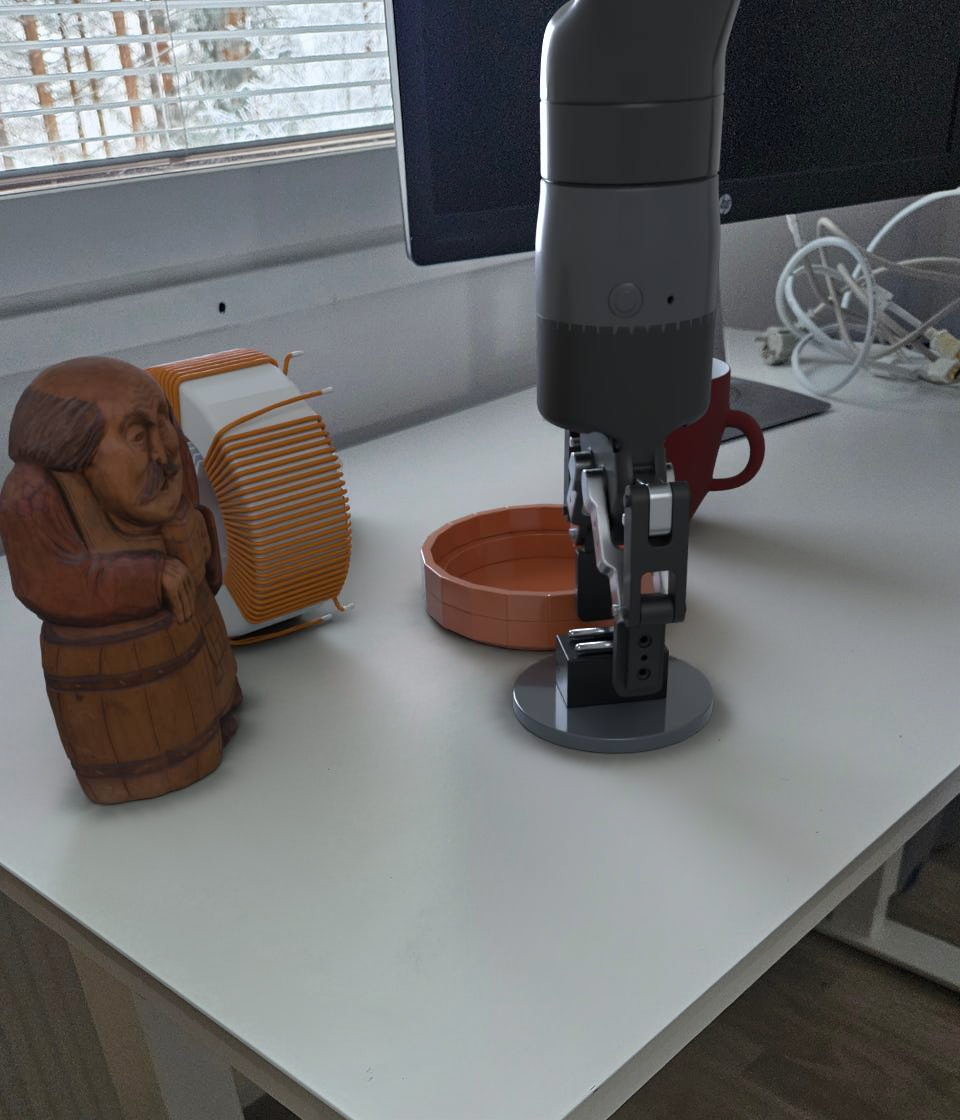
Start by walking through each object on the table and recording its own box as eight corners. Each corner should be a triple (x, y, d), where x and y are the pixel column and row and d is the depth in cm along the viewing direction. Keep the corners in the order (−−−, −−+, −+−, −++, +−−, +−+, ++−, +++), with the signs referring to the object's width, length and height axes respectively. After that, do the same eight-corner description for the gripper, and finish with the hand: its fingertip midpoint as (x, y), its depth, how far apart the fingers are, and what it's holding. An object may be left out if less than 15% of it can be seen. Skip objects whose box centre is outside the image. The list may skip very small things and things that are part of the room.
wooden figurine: (194, 815, 55) (111, 399, 45) (58, 810, 56) (-55, 399, 45) (264, 692, 65) (209, 326, 54) (147, 689, 65) (71, 327, 55)
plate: (681, 651, 67) (682, 638, 66) (738, 742, 59) (740, 727, 58) (498, 669, 66) (498, 655, 65) (531, 763, 58) (531, 748, 57)
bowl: (633, 549, 79) (636, 495, 77) (696, 642, 68) (700, 582, 66) (413, 568, 78) (410, 513, 76) (439, 666, 66) (435, 606, 64)
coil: (274, 683, 65) (233, 393, 57) (140, 601, 75) (88, 342, 66) (379, 643, 69) (355, 365, 60) (238, 570, 78) (201, 321, 70)
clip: (651, 671, 63) (654, 616, 61) (666, 699, 61) (670, 642, 59) (555, 681, 63) (555, 625, 61) (567, 708, 60) (567, 651, 59)
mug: (754, 504, 85) (768, 352, 80) (759, 547, 79) (776, 384, 73) (601, 501, 87) (604, 352, 81) (594, 543, 80) (597, 384, 74)
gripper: (769, 329, 46) (734, 713, 55) (668, 263, 58) (653, 589, 67) (571, 343, 45) (569, 730, 55) (509, 273, 57) (516, 602, 66)
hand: (615, 652), depth 61 cm, fingers open, 8 cm apart
